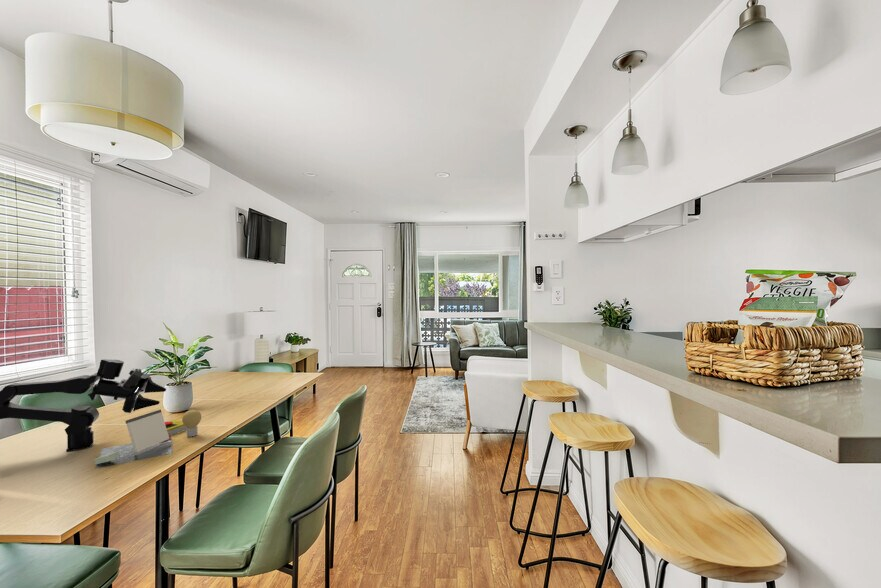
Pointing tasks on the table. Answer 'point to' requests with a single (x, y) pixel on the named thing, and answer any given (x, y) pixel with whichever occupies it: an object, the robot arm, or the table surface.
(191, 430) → the light bulb
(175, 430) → the emergency button
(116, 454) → the rocker
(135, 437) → the beige square plate
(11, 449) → the table surface
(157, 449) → the panel
